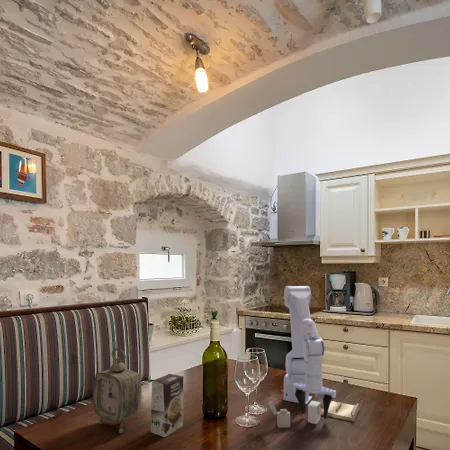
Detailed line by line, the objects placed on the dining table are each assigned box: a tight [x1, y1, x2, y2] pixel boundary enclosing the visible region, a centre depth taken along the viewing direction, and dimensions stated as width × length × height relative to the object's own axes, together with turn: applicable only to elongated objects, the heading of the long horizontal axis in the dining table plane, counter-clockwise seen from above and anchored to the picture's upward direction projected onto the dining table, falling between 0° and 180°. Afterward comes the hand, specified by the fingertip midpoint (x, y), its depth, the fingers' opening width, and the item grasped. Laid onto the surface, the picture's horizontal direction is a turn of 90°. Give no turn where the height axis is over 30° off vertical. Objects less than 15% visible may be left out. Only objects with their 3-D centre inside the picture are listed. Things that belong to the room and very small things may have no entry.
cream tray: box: [314, 393, 360, 422], centre depth 132 cm, size 14×11×7 cm
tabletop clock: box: [92, 347, 142, 434], centre depth 122 cm, size 14×9×25 cm, turn 55°
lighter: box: [268, 400, 291, 428], centre depth 121 cm, size 7×2×8 cm, turn 93°
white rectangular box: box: [306, 400, 322, 425], centre depth 125 cm, size 3×5×6 cm, turn 151°
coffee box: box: [150, 373, 184, 438], centre depth 119 cm, size 9×6×16 cm
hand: (314, 415), depth 125 cm, fingers open, 7 cm apart
